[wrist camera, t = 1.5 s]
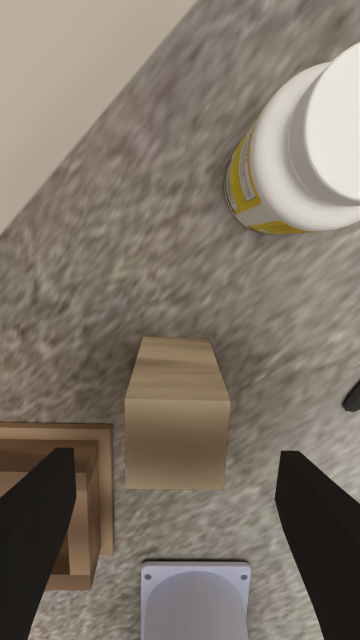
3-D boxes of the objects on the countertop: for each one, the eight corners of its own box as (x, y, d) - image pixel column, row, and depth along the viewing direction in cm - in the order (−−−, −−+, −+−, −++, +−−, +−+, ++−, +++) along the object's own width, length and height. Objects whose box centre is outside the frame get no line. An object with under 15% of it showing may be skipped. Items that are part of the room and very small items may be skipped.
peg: (205, 397, 21) (223, 490, 14) (142, 396, 21) (125, 488, 13) (208, 338, 20) (230, 401, 13) (143, 336, 20) (124, 399, 12)
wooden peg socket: (114, 547, 24) (104, 600, 20) (-27, 546, 24) (-61, 599, 20) (111, 424, 22) (99, 460, 18) (-45, 421, 21) (-88, 457, 18)
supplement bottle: (340, 182, 18) (523, 125, 9) (267, 254, 19) (361, 271, 10) (276, 104, 17) (402, -58, 8) (202, 183, 18) (234, 125, 9)
